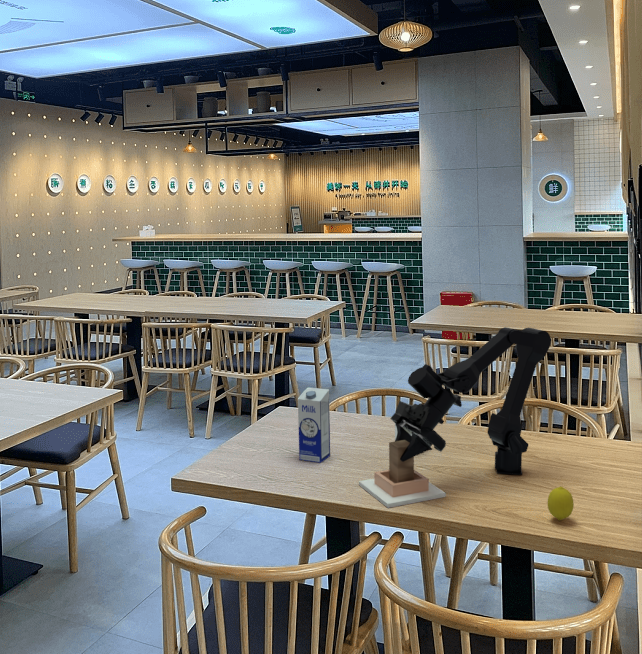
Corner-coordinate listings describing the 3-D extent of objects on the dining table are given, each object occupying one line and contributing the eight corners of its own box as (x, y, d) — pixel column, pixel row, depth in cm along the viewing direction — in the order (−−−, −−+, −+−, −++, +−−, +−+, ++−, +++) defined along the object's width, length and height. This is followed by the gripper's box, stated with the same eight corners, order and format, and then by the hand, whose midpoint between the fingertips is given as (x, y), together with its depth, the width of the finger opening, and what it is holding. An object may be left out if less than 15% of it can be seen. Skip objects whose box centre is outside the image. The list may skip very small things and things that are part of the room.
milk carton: (330, 455, 205) (329, 388, 202) (321, 463, 199) (319, 394, 196) (308, 452, 208) (307, 386, 204) (298, 460, 202) (297, 391, 198)
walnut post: (404, 477, 181) (404, 439, 179) (413, 483, 176) (413, 445, 175) (389, 480, 179) (389, 442, 177) (397, 486, 175) (397, 447, 173)
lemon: (567, 514, 162) (568, 481, 161) (576, 525, 157) (578, 491, 155) (543, 515, 162) (544, 482, 161) (552, 526, 156) (553, 491, 155)
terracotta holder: (413, 475, 188) (413, 460, 188) (445, 496, 174) (445, 481, 173) (358, 484, 182) (358, 470, 182) (387, 507, 168) (387, 491, 167)
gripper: (396, 382, 184) (359, 428, 182) (435, 398, 167) (394, 450, 165) (423, 407, 188) (386, 453, 186) (462, 426, 171) (423, 476, 169)
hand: (396, 457), depth 176 cm, fingers closed on walnut post, 4 cm apart
